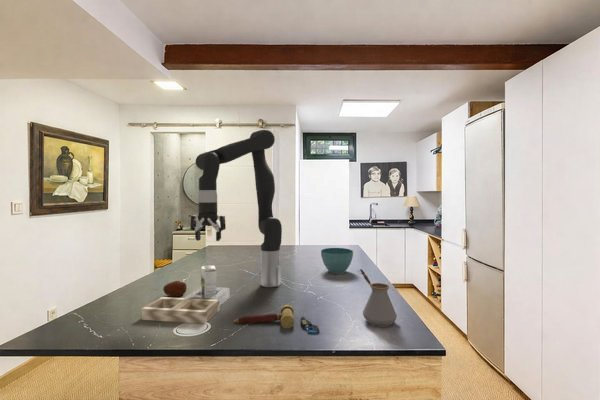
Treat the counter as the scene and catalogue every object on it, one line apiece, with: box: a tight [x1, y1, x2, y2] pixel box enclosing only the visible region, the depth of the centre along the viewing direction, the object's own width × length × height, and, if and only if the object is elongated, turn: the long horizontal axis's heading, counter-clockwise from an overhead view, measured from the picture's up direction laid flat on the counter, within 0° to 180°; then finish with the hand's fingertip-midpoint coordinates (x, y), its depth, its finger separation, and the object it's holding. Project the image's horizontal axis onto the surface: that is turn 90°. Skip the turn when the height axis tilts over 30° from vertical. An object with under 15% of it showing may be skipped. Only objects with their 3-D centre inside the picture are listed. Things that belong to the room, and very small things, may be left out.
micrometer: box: [300, 316, 320, 335], centre depth 102 cm, size 12×2×5 cm
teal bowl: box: [320, 247, 354, 275], centre depth 171 cm, size 18×18×12 cm
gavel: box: [233, 304, 295, 329], centre depth 105 cm, size 21×5×10 cm
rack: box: [140, 296, 220, 325], centre depth 111 cm, size 24×12×4 cm, turn 82°
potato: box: [163, 280, 188, 297], centre depth 132 cm, size 7×9×6 cm
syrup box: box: [200, 265, 217, 296], centre depth 125 cm, size 6×6×14 cm
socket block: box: [185, 286, 231, 307], centre depth 125 cm, size 13×13×4 cm
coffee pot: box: [357, 268, 398, 328], centre depth 109 cm, size 21×12×15 cm, turn 14°
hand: (208, 240), depth 124 cm, fingers open, 8 cm apart
